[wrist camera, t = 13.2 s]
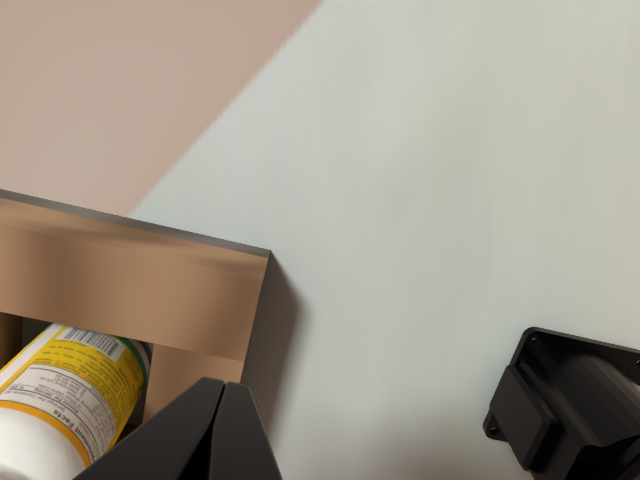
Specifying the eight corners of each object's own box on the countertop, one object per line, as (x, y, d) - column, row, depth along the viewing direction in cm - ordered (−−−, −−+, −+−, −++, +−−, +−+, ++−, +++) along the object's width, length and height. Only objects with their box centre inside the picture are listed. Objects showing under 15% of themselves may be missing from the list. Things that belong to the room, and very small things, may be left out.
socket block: (270, 250, 21) (262, 281, 18) (218, 481, 26) (204, 540, 22) (-47, 178, 20) (-119, 197, 17) (-44, 433, 24) (-100, 488, 21)
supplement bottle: (126, 298, 21) (-22, 466, 12) (169, 394, 23) (69, 606, 13) (17, 326, 21) (-208, 509, 12) (67, 418, 23) (-97, 640, 14)
